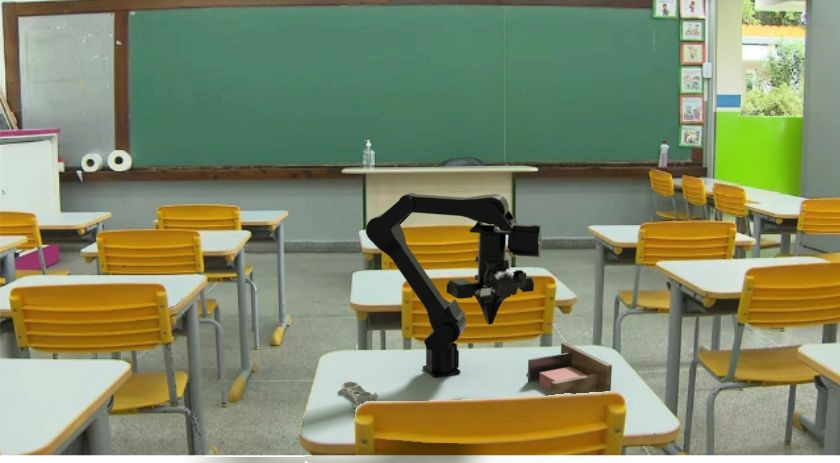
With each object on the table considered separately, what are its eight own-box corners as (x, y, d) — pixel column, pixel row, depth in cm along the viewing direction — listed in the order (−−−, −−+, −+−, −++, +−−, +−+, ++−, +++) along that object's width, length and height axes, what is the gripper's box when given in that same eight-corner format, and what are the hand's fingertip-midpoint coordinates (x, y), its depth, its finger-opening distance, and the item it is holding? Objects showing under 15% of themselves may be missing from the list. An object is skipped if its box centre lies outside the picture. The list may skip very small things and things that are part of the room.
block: (556, 395, 157) (557, 381, 156) (539, 385, 162) (539, 372, 161) (586, 388, 160) (587, 375, 160) (568, 379, 165) (569, 366, 165)
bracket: (338, 409, 145) (342, 380, 160) (338, 419, 146) (342, 388, 160) (377, 409, 146) (377, 379, 160) (377, 418, 146) (378, 388, 161)
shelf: (561, 402, 152) (562, 374, 151) (518, 376, 166) (519, 350, 165) (610, 392, 157) (611, 365, 156) (564, 367, 171) (565, 342, 170)
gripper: (470, 265, 151) (468, 340, 153) (550, 258, 158) (546, 330, 161) (446, 254, 161) (444, 324, 163) (522, 248, 168) (519, 315, 171)
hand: (489, 324), depth 164 cm, fingers closed
